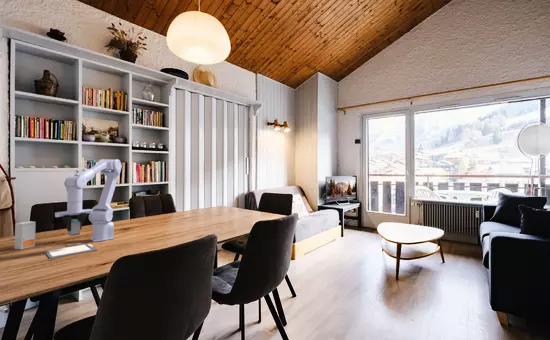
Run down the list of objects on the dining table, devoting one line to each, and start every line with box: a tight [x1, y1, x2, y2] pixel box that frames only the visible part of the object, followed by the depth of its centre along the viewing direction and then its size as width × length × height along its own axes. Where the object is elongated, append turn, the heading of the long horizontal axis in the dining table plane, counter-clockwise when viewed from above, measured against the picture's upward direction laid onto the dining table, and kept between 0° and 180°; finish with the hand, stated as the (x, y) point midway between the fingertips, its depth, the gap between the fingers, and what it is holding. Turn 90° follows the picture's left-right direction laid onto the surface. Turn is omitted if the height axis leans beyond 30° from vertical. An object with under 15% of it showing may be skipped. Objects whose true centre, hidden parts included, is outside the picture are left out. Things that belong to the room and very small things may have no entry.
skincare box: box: [14, 220, 37, 250], centre depth 127 cm, size 6×4×12 cm
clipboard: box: [43, 243, 98, 260], centre depth 124 cm, size 17×14×1 cm
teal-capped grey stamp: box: [67, 218, 81, 237], centre depth 127 cm, size 4×4×7 cm
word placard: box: [65, 241, 83, 247], centre depth 133 cm, size 6×4×1 cm, turn 139°
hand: (74, 230), depth 127 cm, fingers closed on teal-capped grey stamp, 4 cm apart
